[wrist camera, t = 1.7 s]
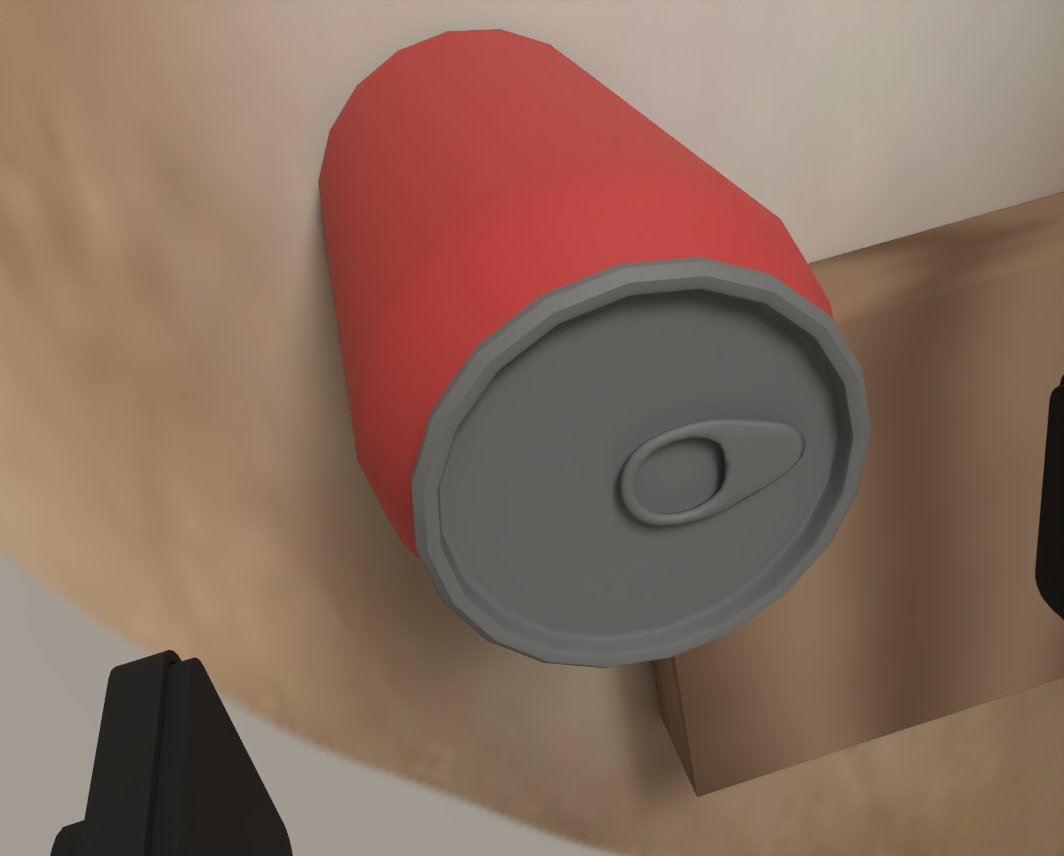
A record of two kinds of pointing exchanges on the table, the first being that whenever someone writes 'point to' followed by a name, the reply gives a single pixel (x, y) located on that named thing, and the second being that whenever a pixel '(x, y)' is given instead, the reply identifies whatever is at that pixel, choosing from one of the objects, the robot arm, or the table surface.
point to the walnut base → (907, 514)
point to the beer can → (578, 357)
